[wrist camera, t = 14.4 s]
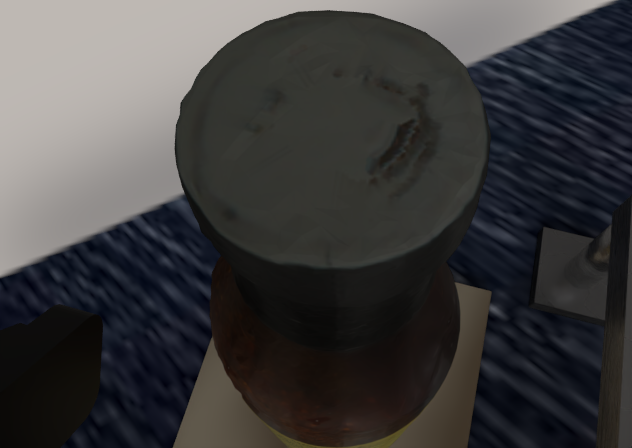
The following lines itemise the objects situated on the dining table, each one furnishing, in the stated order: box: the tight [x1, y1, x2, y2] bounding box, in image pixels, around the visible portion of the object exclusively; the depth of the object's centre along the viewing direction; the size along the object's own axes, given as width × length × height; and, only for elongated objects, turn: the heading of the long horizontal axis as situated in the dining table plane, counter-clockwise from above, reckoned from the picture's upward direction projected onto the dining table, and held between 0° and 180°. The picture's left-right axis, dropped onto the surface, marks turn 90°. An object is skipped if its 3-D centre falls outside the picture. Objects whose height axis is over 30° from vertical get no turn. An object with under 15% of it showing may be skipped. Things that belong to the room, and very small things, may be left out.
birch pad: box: [173, 282, 491, 448], centre depth 25 cm, size 12×12×1 cm
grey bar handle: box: [529, 195, 632, 448], centre depth 21 cm, size 4×20×7 cm, turn 165°
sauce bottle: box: [175, 10, 491, 448], centre depth 16 cm, size 7×6×20 cm
